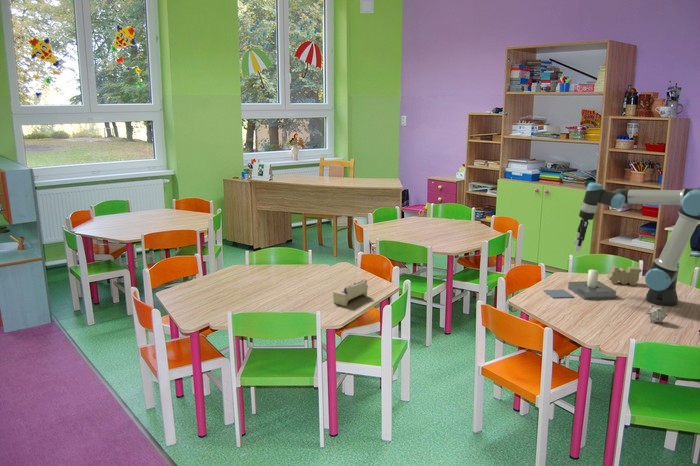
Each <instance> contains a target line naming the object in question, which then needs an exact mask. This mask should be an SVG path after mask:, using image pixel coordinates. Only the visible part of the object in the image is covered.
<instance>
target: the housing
mask: <svg viewBox="0 0 700 466" xmlns="http://www.w3.org/2000/svg"><path fill="white" fill-rule="evenodd" d="M587 281H588V280H587ZM587 281H582V280H581V281H568V282H567V283H568V284H567V289H568V290H570V291H571V292H572V293H574V294H576V295H577V296H578V297H579V298H581V299H583V300H596V299H597V300H602V299H604V300H605V299H616V296H617V291H616V290H615V289H614V288H611V287H610V286H608V285H606V284H604V283H603V282H601V281H599V280H597V288H588V287H587Z"/></svg>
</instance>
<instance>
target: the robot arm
mask: <svg viewBox="0 0 700 466" xmlns="http://www.w3.org/2000/svg"><path fill="white" fill-rule="evenodd" d="M582 200H583V201H582V203H580V205H581V208H580V211H579V214H578V216H579V217H580V218H581V219H580V222H579V225H578V227H577V232H576V235H575V238H574V242H573V244H575V247H574V248H575V249H574V251H575V252H579V253H580V252H581V250H582V248H583V247H582V246H583V242H584V241H585V237H586V234H587V230H588V226H589V221H592V220H594V217H595V213H596V212H597V209H598V204H601V205H604V206H607V207H611V208H614V209H619V210H620V209H622V207H623V206H624V204H626V205H627V204H635V205H637V204H638V205H639V204H640V205H661V206H662V205H664V206H665V205H667V206H670V205H671V206H679V208H678V211H677V213H678V215H679V216H678V218H677V220H676V222H675V224H674V227H673V228H672V230H671V233H670V235H669V236H668V239H667V240H666V243H665V244H664V246H663V249H662V251H661V253H660V254H659V257H658V258H657V257H656V258H655V259H654V260H653V261H652V263H651V265H650V267H649V269H648V271H646V273H645V275H644V281H645V284H646V285H647V287H649V289H648V290H647V293H646V295H645V301H647V302H649V303H652V304H654V305H660V306H665V307H666V306H667V307H669V306H670V307H671V306H673V307H674V306H677V305H678V303H679V298H678V293H677V283H678V276H679V270H680V269H679V268H680V263H679V261H680V259H681V258H682V255H683V254H684V252H685V249H686V247H687V245H688V244H689V242H690V239H691V237H692V236H693V234H694V232H695V230H696V228H697V226H698V224H699V223H700V187H690V188H689V187H685V188H684V189H678V190H677V189H675V190H674V189H624V188H617V189H615V190H612V191H610V190H606V189H604V185H603V184H601V183H598V182H593V181H591V182H589V183H588V185H587V188H586V189H585V194H584V197H583V199H582Z"/></svg>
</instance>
